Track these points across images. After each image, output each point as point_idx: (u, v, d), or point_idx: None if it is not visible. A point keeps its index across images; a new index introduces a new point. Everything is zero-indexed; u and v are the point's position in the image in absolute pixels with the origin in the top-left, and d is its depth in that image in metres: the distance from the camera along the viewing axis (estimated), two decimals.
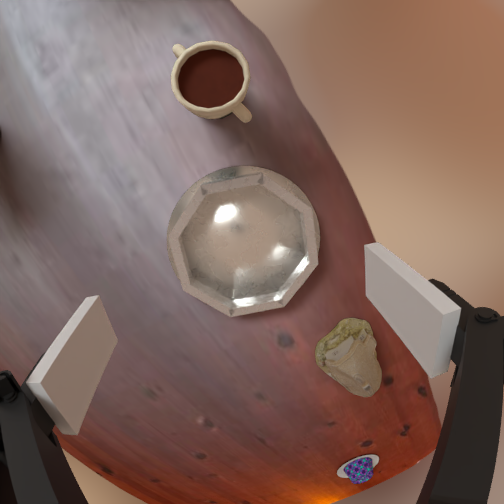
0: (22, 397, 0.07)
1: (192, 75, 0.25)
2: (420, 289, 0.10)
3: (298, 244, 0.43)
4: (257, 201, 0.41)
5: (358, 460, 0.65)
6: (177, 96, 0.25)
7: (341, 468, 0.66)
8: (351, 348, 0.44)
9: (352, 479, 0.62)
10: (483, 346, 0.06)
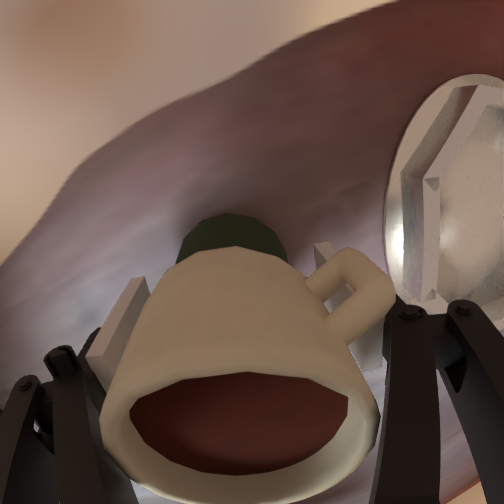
0: (81, 374, 0.09)
1: (229, 456, 0.08)
2: None
3: None
4: (447, 183, 0.17)
5: None
6: (302, 498, 0.07)
7: None
8: None
9: None
10: (410, 343, 0.08)
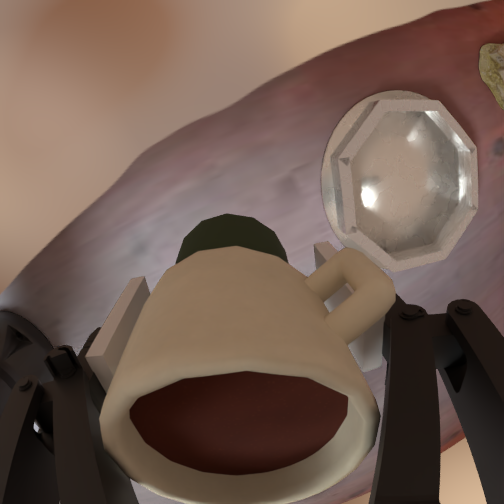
0: (81, 374, 0.09)
1: (229, 456, 0.08)
2: None
3: (413, 117, 0.29)
4: (364, 162, 0.31)
5: None
6: (301, 498, 0.07)
7: None
8: None
9: None
10: (410, 343, 0.08)
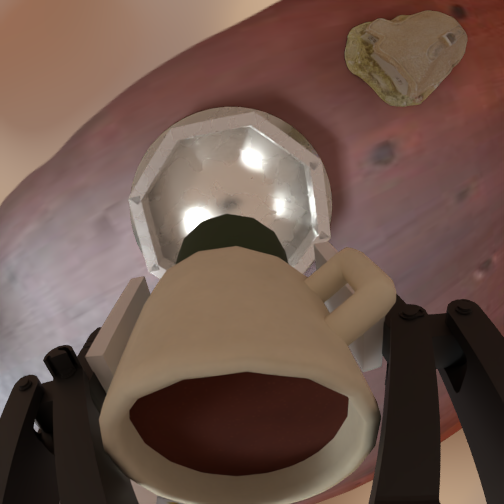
0: (81, 374, 0.09)
1: (229, 456, 0.08)
2: None
3: (232, 136, 0.29)
4: (172, 195, 0.31)
5: None
6: (302, 498, 0.07)
7: None
8: (386, 60, 0.23)
9: None
10: (410, 343, 0.08)
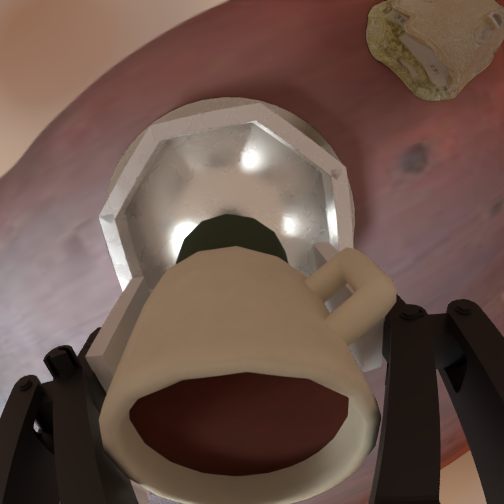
0: (81, 374, 0.09)
1: (229, 456, 0.08)
2: None
3: (231, 135, 0.23)
4: (155, 211, 0.24)
5: None
6: (302, 499, 0.07)
7: None
8: (422, 42, 0.16)
9: None
10: (410, 343, 0.08)
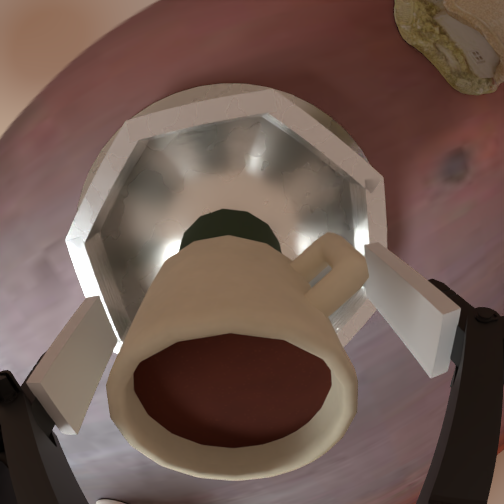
0: (22, 397, 0.07)
1: (225, 426, 0.09)
2: (420, 289, 0.10)
3: (233, 133, 0.17)
4: (137, 231, 0.19)
5: None
6: (294, 468, 0.09)
7: None
8: (469, 23, 0.11)
9: None
10: (483, 346, 0.06)
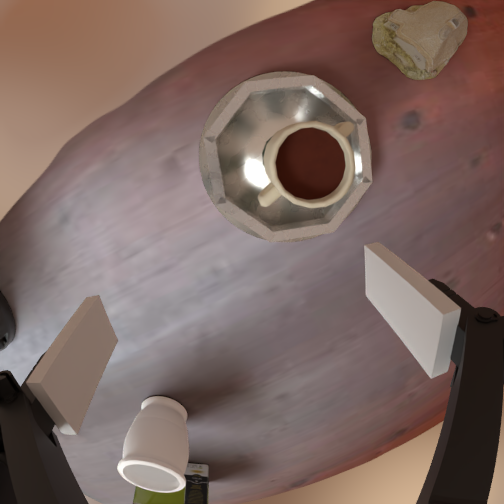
0: (22, 397, 0.07)
1: (306, 183, 0.25)
2: (420, 289, 0.10)
3: (292, 95, 0.33)
4: (239, 140, 0.35)
5: None
6: (335, 200, 0.25)
7: None
8: (407, 42, 0.26)
9: None
10: (483, 346, 0.06)
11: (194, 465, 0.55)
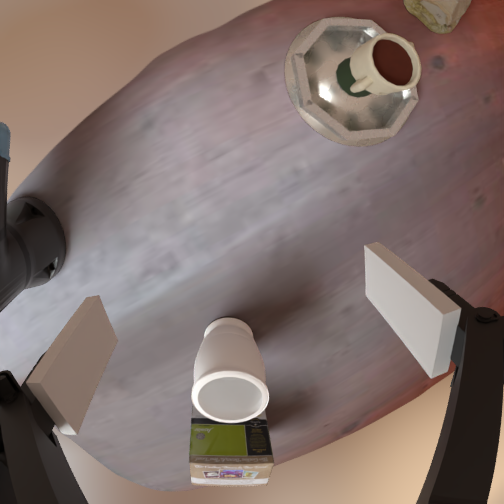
0: (22, 397, 0.07)
1: (389, 75, 0.29)
2: (420, 289, 0.10)
3: (354, 34, 0.37)
4: (317, 62, 0.38)
5: None
6: (411, 86, 0.28)
7: None
8: (432, 3, 0.30)
9: None
10: (483, 346, 0.06)
11: None
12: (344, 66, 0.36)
